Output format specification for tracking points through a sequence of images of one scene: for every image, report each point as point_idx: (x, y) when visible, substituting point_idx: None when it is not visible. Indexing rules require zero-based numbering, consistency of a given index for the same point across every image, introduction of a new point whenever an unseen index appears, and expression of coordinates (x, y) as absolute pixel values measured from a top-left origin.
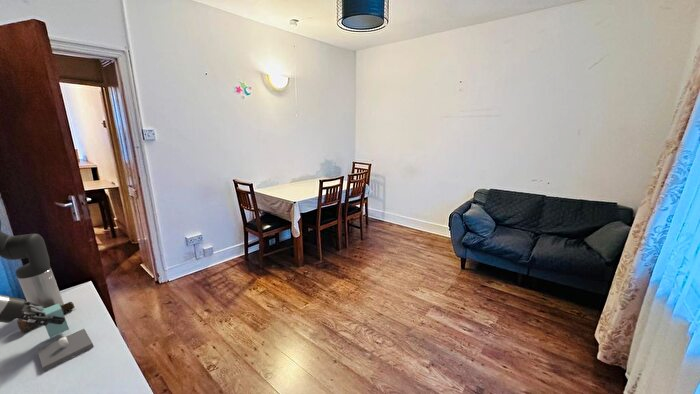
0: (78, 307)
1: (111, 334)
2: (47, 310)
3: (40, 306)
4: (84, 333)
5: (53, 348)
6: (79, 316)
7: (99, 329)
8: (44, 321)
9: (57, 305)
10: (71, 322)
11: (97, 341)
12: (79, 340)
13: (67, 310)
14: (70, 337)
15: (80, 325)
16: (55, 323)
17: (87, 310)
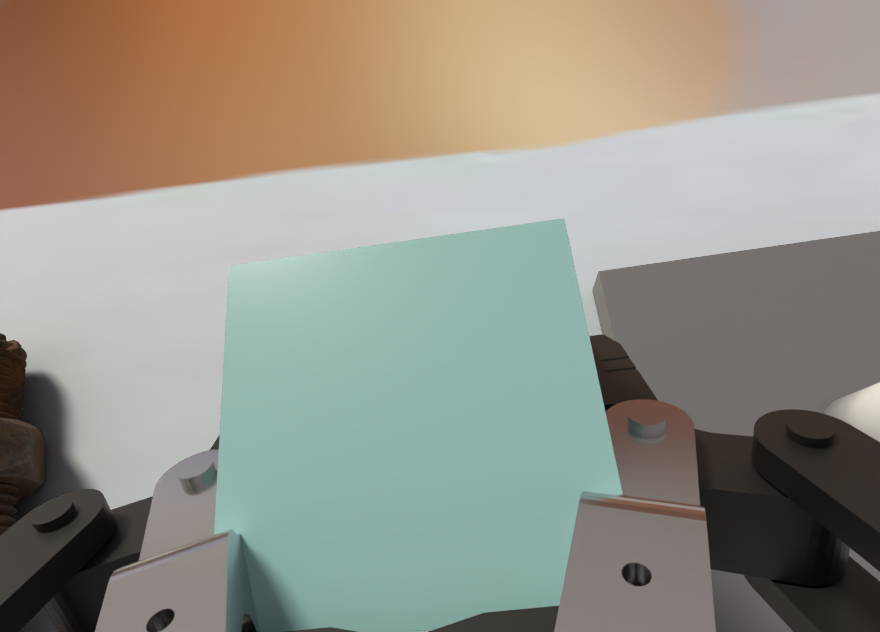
0: (37, 327)
1: (823, 124)
2: (389, 468)
3: (126, 604)
4: (712, 270)
5: None
6: None
7: (647, 196)
8: (829, 555)
9: (319, 285)
10: None
11: (868, 213)
12: (832, 311)
13: (18, 401)
14: (691, 381)
15: None
16: None
17: (180, 266)
